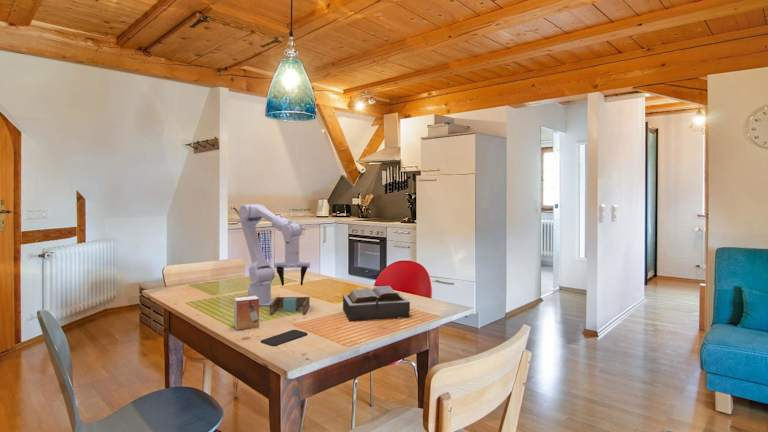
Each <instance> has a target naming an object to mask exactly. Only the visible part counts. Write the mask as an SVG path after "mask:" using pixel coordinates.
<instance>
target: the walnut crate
mask: <svg viewBox="0 0 768 432" xmlns="http://www.w3.org/2000/svg"><path fill="white" fill-rule="evenodd" d="M285 297H286V296H276V297H275V298H274V299H273V302H272V303H271V304H270V305H269V316H273V314H275V312H276V311H277V309H279V308H283V300H284V298H285ZM296 297H297V301H298V308H299V307H301V308H302V316H304V315H306V314H307V312H308V310H309V308H310V298H311V297H310V296H296Z"/></svg>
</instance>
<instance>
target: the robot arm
mask: <svg viewBox="0 0 768 432" xmlns="http://www.w3.org/2000/svg"><path fill="white" fill-rule="evenodd" d="M237 214H238V217H239V220H240V224H241V228H242V231H243V234H244V238H245V242H246V245H247V249H248V253H249V256H250V259H251V262H252V264H251V265H250V266H249V268H248V272H249V280H250V282H251V283H249V285H248V287H247V297H249V296H257V297H258V299H259V307H260V306H267V307H268V306H269V307H270V304H271V303H272V302H273V301H274V299H272V284H273V281H274V279H275V277H276V273H277V275H278V276H279V277H278V278H279V280H280V282H281V283H280V284H281V286H282V287H284V285H285V275H284V273H285V269H289V268H290V269H291V268H293V269H294V268H297V269H298V268H300V286H303V284H304V280H305V276H306V272H307V270H308V269H310V268H311V262H310V261H309V262H306V261H305V262H304V261H300V236H301V235H302V233H303V228H302V225H301V224H300V223H299V222H293V221H292V220H291V219H288V218H286V217H285V215H283V214H278V215H276V214H275V213H274V212H272V211H270V210H269V209H268V208H266V205H264V204H262V203H254V204H253V203H252V204H248V203H243V204H241V205H240V206H239V209H238V212H237ZM262 219H264V220H266V221H268V222H270V223H271V225H272V227H273V228H274V229H276V230H278V231H279V232H281V234H282V236H283V241H284V261H283V262H274V263H273V267H272V265H271V263H270V261H267V260H266V258H265V256H264V252H263V249H262V245H261V242H260V238H259V235H258V232H257V228H256V226H257V225H258V224H259V222H260V221H261V220H262ZM274 269H276V273H275V270H274Z"/></svg>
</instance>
